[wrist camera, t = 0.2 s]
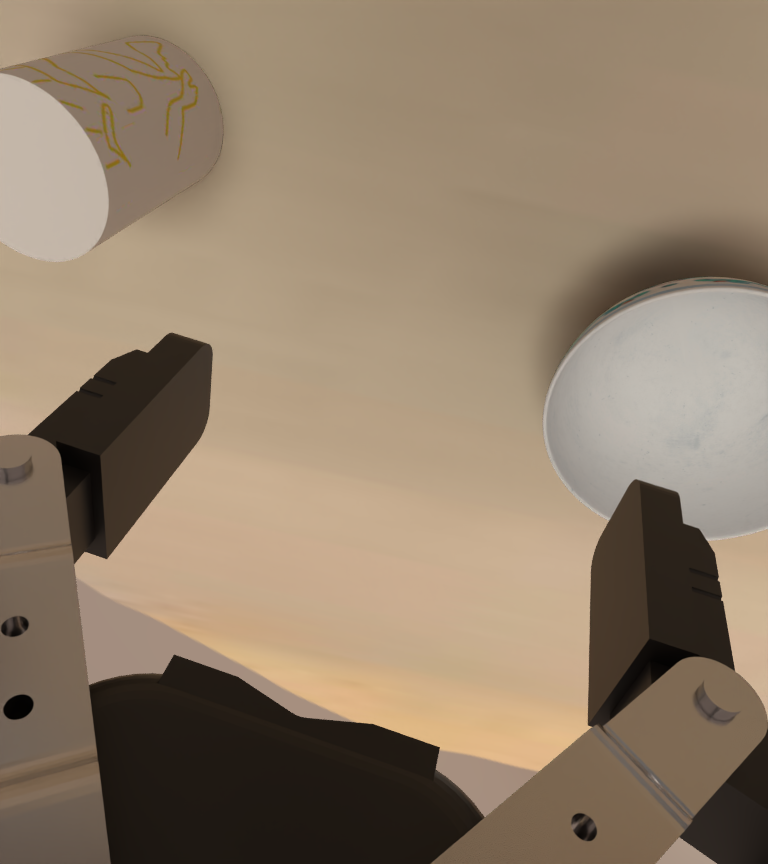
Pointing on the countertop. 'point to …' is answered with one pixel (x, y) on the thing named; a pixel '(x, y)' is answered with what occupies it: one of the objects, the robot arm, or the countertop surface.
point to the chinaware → (669, 404)
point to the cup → (100, 142)
